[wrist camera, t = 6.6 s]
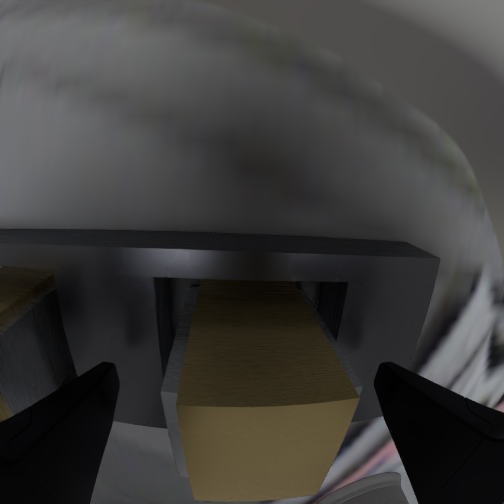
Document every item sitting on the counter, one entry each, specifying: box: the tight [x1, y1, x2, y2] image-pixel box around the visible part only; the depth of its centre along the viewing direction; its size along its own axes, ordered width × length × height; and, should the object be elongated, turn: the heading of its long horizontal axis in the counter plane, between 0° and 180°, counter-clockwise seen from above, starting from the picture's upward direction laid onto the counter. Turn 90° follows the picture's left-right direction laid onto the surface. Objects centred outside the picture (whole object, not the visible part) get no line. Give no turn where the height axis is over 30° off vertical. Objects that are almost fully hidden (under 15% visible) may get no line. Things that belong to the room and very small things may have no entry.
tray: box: [0, 229, 440, 429], centre depth 11 cm, size 8×22×2 cm, turn 86°
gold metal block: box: [161, 279, 363, 502], centre depth 9 cm, size 4×4×7 cm
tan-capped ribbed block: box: [0, 266, 74, 422], centre depth 8 cm, size 4×4×7 cm
